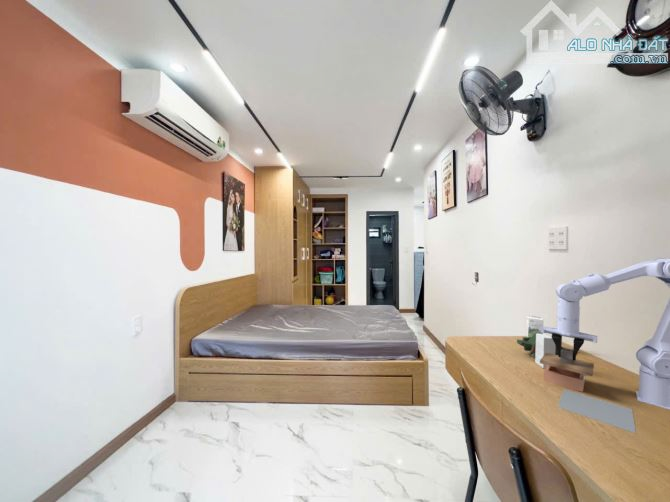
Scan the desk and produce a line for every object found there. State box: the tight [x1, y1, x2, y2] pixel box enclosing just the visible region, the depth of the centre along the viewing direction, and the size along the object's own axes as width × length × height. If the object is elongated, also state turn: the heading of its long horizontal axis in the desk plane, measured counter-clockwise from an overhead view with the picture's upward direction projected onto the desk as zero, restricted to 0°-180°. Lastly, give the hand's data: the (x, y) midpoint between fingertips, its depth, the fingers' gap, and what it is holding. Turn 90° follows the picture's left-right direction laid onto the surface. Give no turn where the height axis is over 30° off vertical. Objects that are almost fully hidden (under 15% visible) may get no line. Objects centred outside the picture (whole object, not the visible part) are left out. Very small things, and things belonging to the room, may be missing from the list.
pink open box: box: [543, 365, 586, 393], centre depth 93 cm, size 10×10×4 cm
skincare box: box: [534, 333, 556, 369], centre depth 106 cm, size 6×4×12 cm
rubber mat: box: [557, 388, 637, 434], centre depth 77 cm, size 15×15×1 cm
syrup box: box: [526, 315, 544, 337], centre depth 128 cm, size 6×6×14 cm
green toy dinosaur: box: [516, 332, 565, 359], centre depth 115 cm, size 12×18×12 cm
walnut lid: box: [540, 347, 595, 378], centre depth 92 cm, size 13×13×5 cm
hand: (567, 358), depth 92 cm, fingers closed on walnut lid, 3 cm apart
